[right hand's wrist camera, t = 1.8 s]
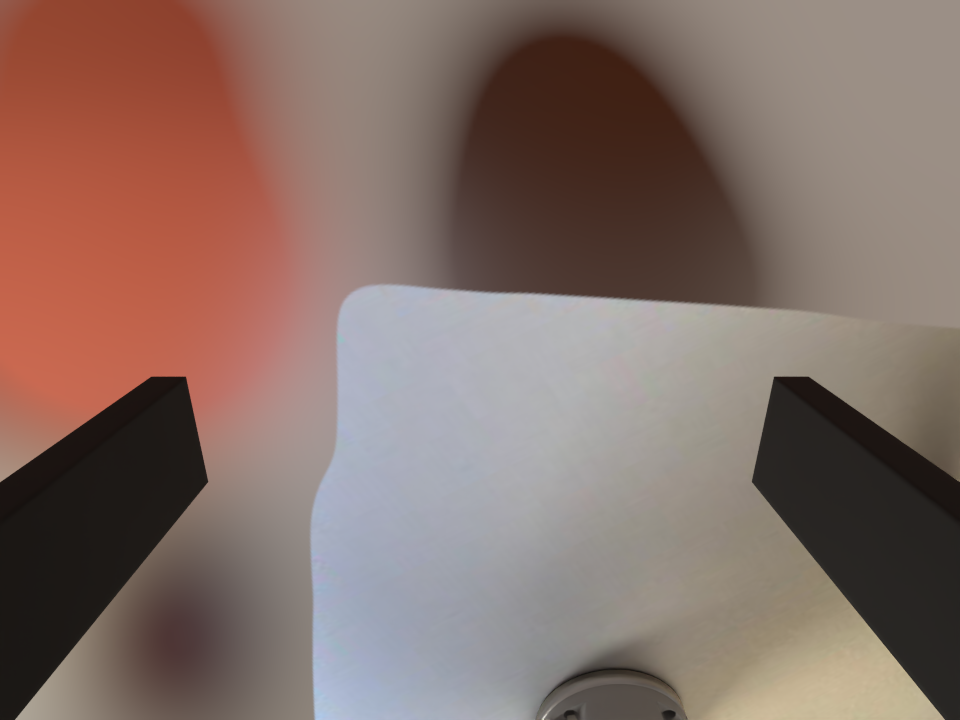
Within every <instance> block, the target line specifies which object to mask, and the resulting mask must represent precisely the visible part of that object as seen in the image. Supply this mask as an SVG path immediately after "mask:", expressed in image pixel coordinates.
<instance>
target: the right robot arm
mask: <svg viewBox="0 0 960 720" xmlns="http://www.w3.org/2000/svg"><path fill="white" fill-rule="evenodd" d="M207 483H208V479H207V474H206V469H205V465H204V460H203V455H202V451H201V446H200V441H199V437H198V432H197V427H196V422H195V418H194V413H193V408H192V403H191V399H190V394H189V389H188V385H187V380H186V377H150V378H149V379H148V380H146V381H145V382H143V383H142V384H140V385H139V386H137V387H136V388H135V389H133V390H132V391H130V392H129V393H128V394H126V395H125V396H123V397H122V398H120V399H119V400H117V401H116V402H115V403H113V404H112V405H110V406H109V407H107V408H106V409H105V410H103V411H102V412H100V413H99V414H97V415H96V416H95V417H93V418H92V419H90V420H89V421H87V422H86V423H85V424H83V425H82V426H80V427H79V428H77V429H76V430H74V431H73V432H72V433H70V434H69V435H67V436H66V437H64V438H63V439H62V440H60V441H59V442H57V443H56V444H54V445H53V446H52V447H50V448H49V449H47V450H46V451H44V452H43V453H42V454H40V455H39V456H37V457H36V458H34V459H33V460H32V461H30V462H29V463H27V464H26V465H24V466H23V467H21V468H20V469H19V470H17V471H16V472H14V473H13V474H11V475H10V476H9V477H7V478H6V479H4V480H3V481H1V482H0V720H15V719H16V718H17V716H18V715H19V714H20V713H21V712H22V710H23V709H24V708H25V707H26V705H27V704H28V703H29V702H30V700H31V699H32V698H33V697H34V696H35V694H36V693H37V692H38V691H39V689H40V688H41V687H42V686H43V684H44V683H45V682H46V681H47V679H48V678H49V677H50V676H51V675H52V673H53V672H54V671H55V670H56V669H57V667H58V666H59V665H60V664H61V662H62V661H63V660H64V659H65V657H66V656H67V655H68V654H69V653H70V651H71V650H72V649H73V648H74V646H75V645H76V644H77V643H78V641H79V640H80V639H81V638H82V636H83V635H84V634H85V633H86V632H87V630H88V629H89V628H90V627H91V625H92V624H93V623H94V622H95V621H96V619H97V618H98V617H99V616H100V614H101V613H102V612H103V611H104V609H105V608H106V607H107V606H108V604H109V603H110V602H111V601H112V600H113V598H114V597H115V596H116V595H117V593H118V592H119V591H120V590H121V588H122V587H123V586H124V585H125V584H126V582H127V581H128V580H129V579H130V577H131V576H132V575H133V574H134V573H135V571H136V570H137V569H138V568H139V566H140V565H141V564H142V563H143V561H144V560H145V559H146V558H147V557H148V555H149V554H150V553H151V552H152V550H153V549H154V548H155V547H156V545H157V544H158V543H159V542H160V541H161V539H162V538H163V537H164V536H165V534H166V533H167V532H168V531H169V529H170V528H171V527H172V526H173V524H174V523H175V522H176V521H177V520H178V518H179V517H180V516H181V515H182V513H183V512H184V511H185V510H186V509H187V507H188V506H189V505H190V504H191V502H192V501H193V500H194V499H195V497H196V496H197V495H198V494H199V493H200V491H201V490H202V489H203V488H204V486H205V485H206V484H207ZM752 483H753V484H754V485H755V486H756V488H757V489H758V490H759V491H760V493H761V494H762V495H763V496H764V497H765V499H766V500H767V501H768V502H769V504H770V505H771V506H772V507H773V509H774V510H775V511H776V512H777V513H778V515H779V516H780V517H781V518H782V520H783V521H784V522H785V523H786V525H787V526H788V527H789V528H790V529H791V531H792V532H793V533H794V534H795V536H796V537H797V538H798V539H799V541H800V542H801V543H802V544H803V545H804V547H805V548H806V549H807V550H808V552H809V553H810V554H811V555H812V557H813V558H814V559H815V560H816V561H817V563H818V564H819V565H820V566H821V568H822V569H823V570H824V571H825V573H826V574H827V575H828V576H829V577H830V579H831V580H832V581H833V582H834V584H835V585H836V586H837V587H838V589H839V590H840V591H841V592H842V593H843V595H844V596H845V597H846V598H847V600H848V601H849V602H850V603H851V605H852V606H853V607H854V608H855V609H856V611H857V612H858V613H859V614H860V616H861V617H862V618H863V619H864V621H865V622H866V623H867V624H868V625H869V627H870V628H871V629H872V630H873V632H874V633H875V634H876V635H877V637H878V638H879V639H880V640H881V641H882V643H883V644H884V645H885V646H886V648H887V649H888V650H889V651H890V653H891V654H892V655H893V656H894V657H895V659H896V660H897V661H898V662H899V664H900V665H901V666H902V667H903V669H904V670H905V671H906V672H907V673H908V675H909V676H910V677H911V678H912V680H913V681H914V682H915V683H916V685H917V686H918V687H919V688H920V689H921V691H922V692H923V693H924V694H925V696H926V697H927V698H928V699H929V700H930V702H931V703H932V704H933V705H934V707H935V708H936V709H937V710H938V712H939V713H940V714H941V715H942V716H943V718H944V719H945V720H960V482H959V481H957V480H956V479H954V478H953V477H951V476H950V475H949V474H947V473H946V472H944V471H943V470H941V469H940V468H939V467H937V466H936V465H934V464H933V463H931V462H930V461H928V460H927V459H926V458H924V457H923V456H921V455H920V454H918V453H917V452H916V451H914V450H913V449H911V448H910V447H908V446H907V445H906V444H904V443H903V442H901V441H900V440H898V439H897V438H896V437H894V436H893V435H891V434H890V433H888V432H887V431H886V430H884V429H883V428H881V427H880V426H878V425H877V424H875V423H874V422H873V421H871V420H870V419H868V418H867V417H865V416H864V415H863V414H861V413H860V412H858V411H857V410H855V409H854V408H853V407H851V406H850V405H848V404H847V403H845V402H844V401H843V400H841V399H840V398H838V397H837V396H835V395H834V394H833V393H831V392H830V391H828V390H827V389H825V388H824V387H823V386H821V385H820V384H818V383H817V382H815V381H814V380H812V379H811V378H810V377H774V380H773V385H772V389H771V394H770V399H769V403H768V408H767V413H766V418H765V422H764V427H763V432H762V436H761V441H760V446H759V451H758V455H757V460H756V465H755V469H754V474H753V479H752ZM536 720H688V719H687V716H686V713H685V711H684V708H683V705H682V703H681V701H680V699H679V697H678V696H677V694H676V693H675V692H674V691H673V690H672V689H671V688H670V687H669V686H668V685H667V684H665V683H664V682H662V681H661V680H659V679H657V678H655V677H653V676H650V675H647V674H644V673H640V672H636V671H629V670H603V671H597V672H592V673H588V674H584V675H581V676H578V677H576V678H574V679H571V680H569V681H567V682H566V683H564V684H562V685H561V686H559V687H558V688H557V689H555V690H554V691H553V692H552V693H551V694H550V695H549V696H548V697H547V698H546V699H545V700H544V702H543V703H542V705H541V707H540V708H539V711H538V713H537V717H536Z"/></svg>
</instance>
